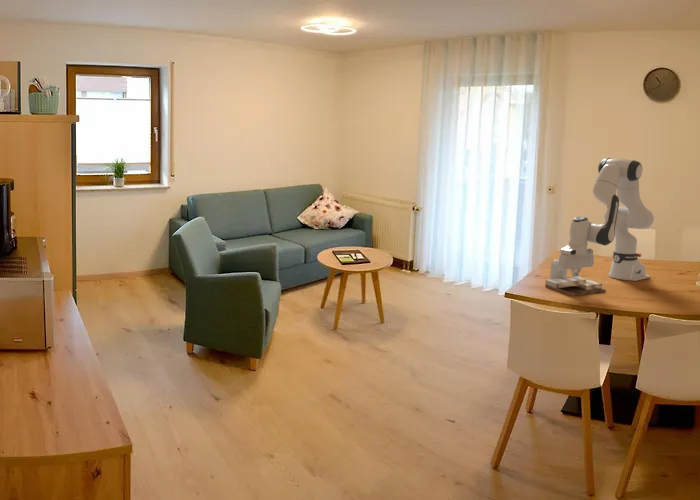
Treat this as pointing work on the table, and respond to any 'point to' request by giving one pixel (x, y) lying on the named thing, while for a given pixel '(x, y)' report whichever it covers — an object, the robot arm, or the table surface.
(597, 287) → the plank
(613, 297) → the table surface
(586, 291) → the floor section
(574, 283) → the plank
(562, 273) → the grey arched block
